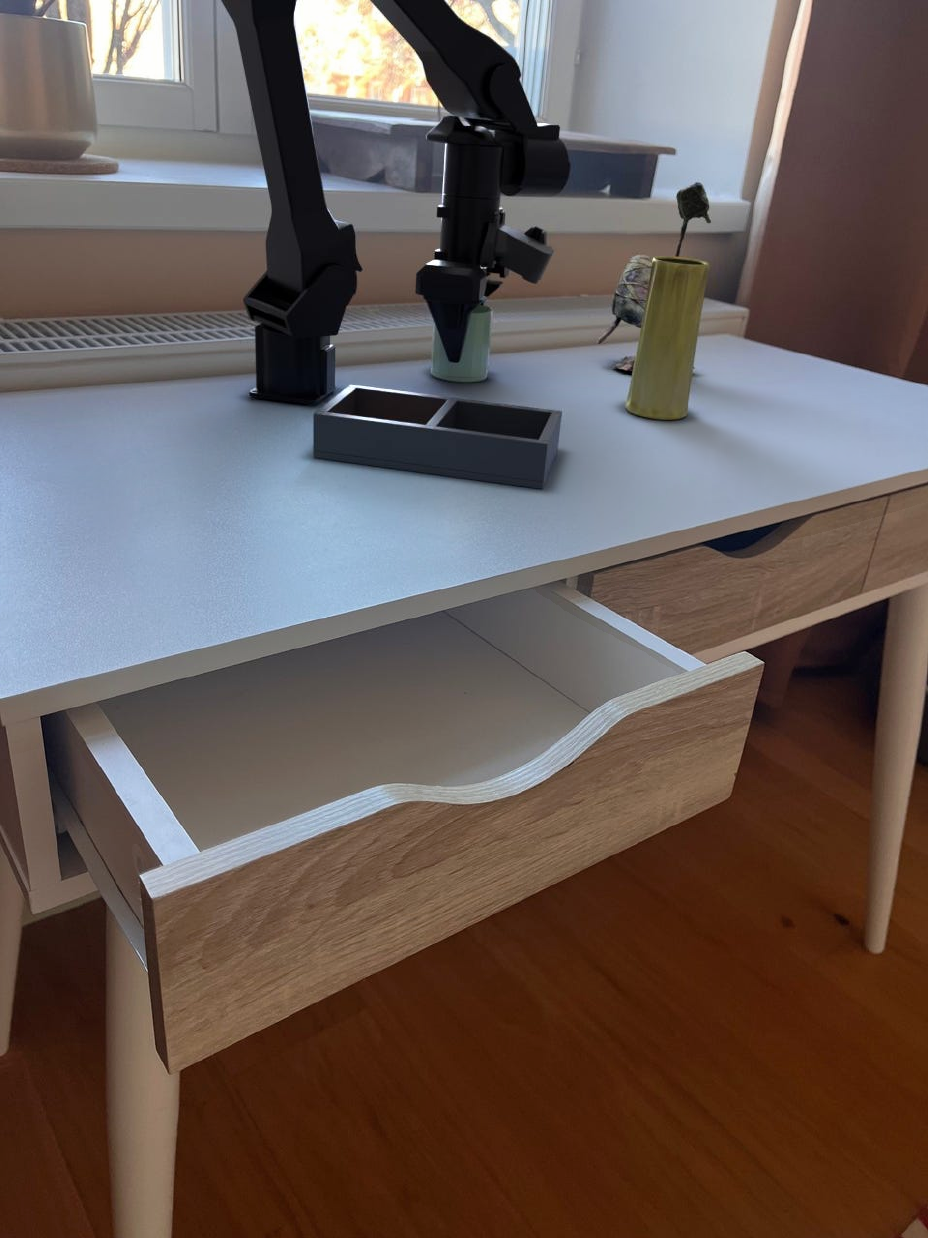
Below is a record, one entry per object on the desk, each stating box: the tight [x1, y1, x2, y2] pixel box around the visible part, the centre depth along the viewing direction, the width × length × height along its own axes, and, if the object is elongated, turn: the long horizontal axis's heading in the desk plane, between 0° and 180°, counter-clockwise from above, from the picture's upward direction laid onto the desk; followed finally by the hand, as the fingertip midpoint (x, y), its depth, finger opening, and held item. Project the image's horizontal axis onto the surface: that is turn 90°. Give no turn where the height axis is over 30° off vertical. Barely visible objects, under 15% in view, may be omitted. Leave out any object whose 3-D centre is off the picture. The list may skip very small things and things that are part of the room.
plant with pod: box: [596, 181, 712, 372], centre depth 110 cm, size 8×11×20 cm
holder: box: [312, 384, 563, 490], centre depth 81 cm, size 10×18×4 cm, turn 78°
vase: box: [624, 255, 710, 421], centre depth 95 cm, size 6×6×14 cm
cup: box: [430, 304, 494, 383], centre depth 105 cm, size 6×6×7 cm
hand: (460, 355), depth 105 cm, fingers closed on cup, 6 cm apart
